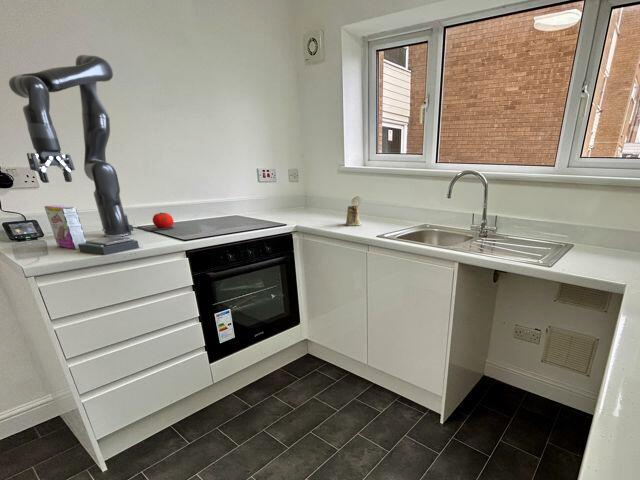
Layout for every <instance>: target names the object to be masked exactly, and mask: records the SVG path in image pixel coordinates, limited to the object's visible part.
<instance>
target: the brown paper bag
mask: <svg viewBox="0 0 640 480" xmlns="http://www.w3.org/2000/svg"><path fill="white" fill-rule="evenodd" d="M361 204H362V198H361V197H360V196H355V197H353V198H352V199H351V205H348V206H347V209H346V212H347V213H346V220H345V221H346V222H345V226H348V227H357V226H361V221H360V215H359V213H360V210H359V205H361Z"/></svg>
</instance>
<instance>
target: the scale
mask: <svg viewBox="0 0 640 480" xmlns="http://www.w3.org/2000/svg"><path fill="white" fill-rule="evenodd" d="M78 246H79V249H78V250H79V252H80V253H85V254H86V253H87V254H94V255H101V256H107V255H111V254H116V253H120V252H125V251H131V250H135V249H139V248H140V245H139V241H138V240H136V239H134V240H131V241H126V242H121V243H115V244H110V245H101V244H93V243H83V244H78Z"/></svg>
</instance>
